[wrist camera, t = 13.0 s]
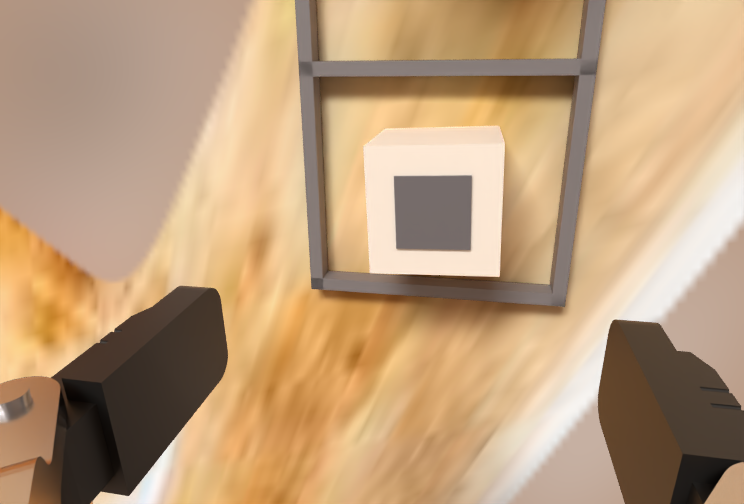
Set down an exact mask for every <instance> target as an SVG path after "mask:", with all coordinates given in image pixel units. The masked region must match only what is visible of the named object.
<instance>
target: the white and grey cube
mask: <svg viewBox="0 0 744 504" xmlns="http://www.w3.org/2000/svg"><path fill="white" fill-rule="evenodd" d="M363 150H364V169H365V187H366V206H367V225H368V244H369V263H370V273H383V274H418V275H454V276H489V277H500V254H501V229H502V204H503V180H504V155H505V142H504V139H503V136H502V133H501V130H500V127H499V126H467V127H427V128H388V129H384V130H383V131H381V132H380V133H379V134H378V135H377V136H375V137H374V138H373V139H372V140H370V141H369V142H368V143H367V144H365V145H364V146H363Z"/></svg>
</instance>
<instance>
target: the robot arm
mask: <svg viewBox="0 0 744 504" xmlns="http://www.w3.org/2000/svg"><path fill="white" fill-rule="evenodd" d="M227 359H228V350H227V342H226V335H225V328H224V320H223V313H222V305H221V299H220V295H219V293H218V291H217V290H216V289H214V288H205V287H192V286H179V287H177V288H176V289H174V290H173V291H172V292H171V293H169V294H168V295H167V296H165V297H164V298H163V299H162V300H160V301H159V302H158V303H156V304H155V305H154V306H153V307H151V308H149V309H146V310H144V311H142V312H140V313H138V314H135V315H133V316H131V317H130V318H129V319H127V320H126V321H125V322H123V323H122V324H121V325H119V326H118V327H117V328H115V329H114V332H110V333H109V334H108V335H106V336H105V337H104V338H102V339H101V340H100V343H96V344H94V345H93V346H92V347H91V348H89V349H88V350H87V351H85V352H84V353H83V354H81V355H80V356H79V357H77V358H76V359H75V360H74V361H72V362H71V363H70V364H68V365H67V366H66V367H64V368H63V369H62V370H60V371H59V372H58V373H57V374H55V375H54V376H53V377H51V378H49V377H42V376H32V377H24V378H19V379H14V380H11V381H7V382H4V383H1V384H0V504H93V502H92V501H93V500H94V498H95V497H96V496H97V495H98V494H99V493H100V492H107V493H114V494H120V495H126V496H129V495H130V494H131V493H132V491H133V490H134V489H135V488H136V486H137V485H138V484H139V483H140V481H141V480H142V479H143V478H144V476H145V475H146V474H147V473H148V471H149V470H150V469H151V467H152V466H153V465H154V464H155V462H156V461H157V460H158V459H159V457H160V456H161V455H162V454H163V452H164V451H165V450H166V449H167V447H168V446H169V445H170V443H171V442H172V441H173V440H174V438H175V437H176V436H177V435H178V433H179V432H180V431H181V430H182V428H183V427H184V426H185V424H186V423H187V422H188V421H189V419H190V418H191V417H192V416H193V414H194V413H195V412H196V411H197V409H198V408H199V407H200V406H201V404H202V403H203V402H204V400H205V399H206V398H207V397H208V395H209V394H210V393H211V392H212V390H213V389H214V388H215V387H216V385H217V384H218V383H219V381H220V380H221V379H222V377H223V375H224V372H225V369H226V365H227ZM598 412H599V419H600V423H601V427H602V430H603V434H604V437H605V440H606V444H607V447H608V450H609V453H610V456H611V460H612V463H613V466H614V469H615V472H616V476H617V479H618V482H619V486H620V489H621V492H622V495H623V498H624V502H625V504H744V411H742V410H741V405H740V404H739V403H738V401H737V400H736V398H735V397H734V396H733V394H732V393H729V389H728V387H727V386H726V385H725V383H724V382H723V381H722V379H721V378H720V376H719V375H718V373H717V372H716V371H715V369H713V368H712V367H710V366H709V365H708V364H706V363H705V362H703V361H702V360H701V359H699V358H698V357H696V356H695V355H694V354H692V353H691V352H683V351H682V352H681V351H676V349H675V347H674V346H673V344H672V343H671V341H670V339H669V338H668V336H667V335H666V333H665V332H664V330H663V328H662V327H661V325H660V324H658V323H653V322H640V321H627V320H613V321H612V323H611V326H610V329H609V333H608V339H607V345H606V351H605V357H604V362H603V368H602V374H601V380H600V386H599V393H598Z"/></svg>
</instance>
